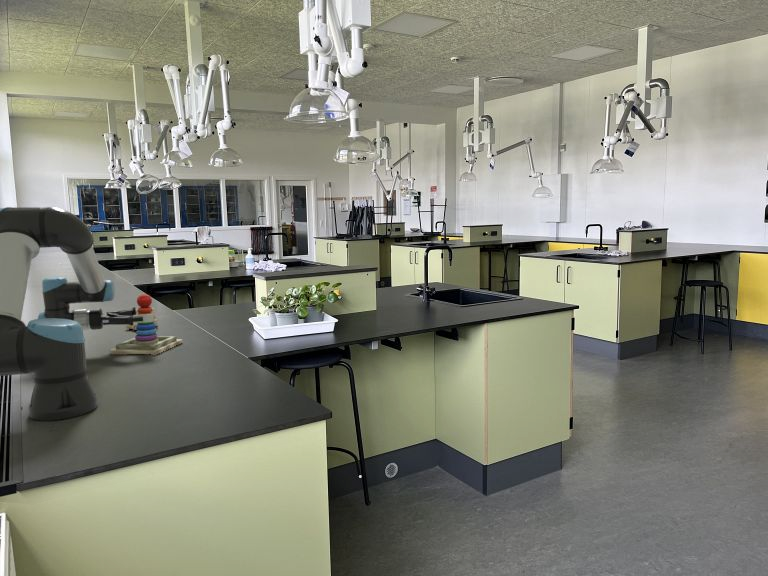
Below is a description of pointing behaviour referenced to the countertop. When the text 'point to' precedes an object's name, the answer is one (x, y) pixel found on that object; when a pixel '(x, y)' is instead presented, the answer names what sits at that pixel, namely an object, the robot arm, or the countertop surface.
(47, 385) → the robot arm
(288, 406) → the countertop surface
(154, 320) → the beige animal figurine
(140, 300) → the stacking toy
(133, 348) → the rimmed tray
